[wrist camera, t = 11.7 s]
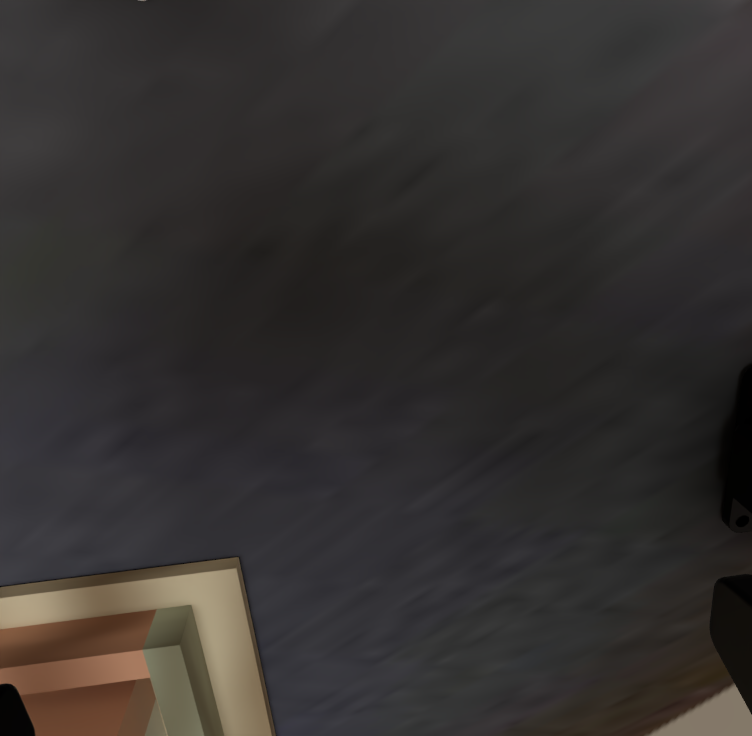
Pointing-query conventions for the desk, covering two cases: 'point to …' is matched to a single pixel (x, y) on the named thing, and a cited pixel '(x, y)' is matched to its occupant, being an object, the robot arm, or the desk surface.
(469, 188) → the desk surface
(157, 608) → the slot holder
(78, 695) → the banded block
